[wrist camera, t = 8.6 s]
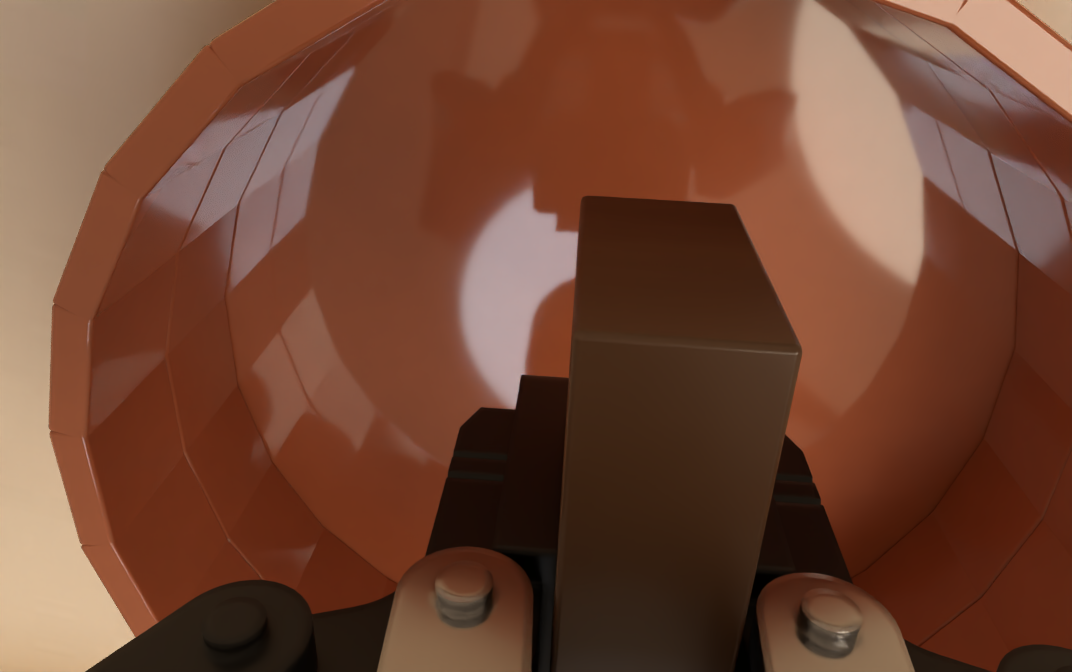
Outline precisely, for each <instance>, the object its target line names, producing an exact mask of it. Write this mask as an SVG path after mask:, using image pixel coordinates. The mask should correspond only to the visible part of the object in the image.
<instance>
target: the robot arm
mask: <svg viewBox="0 0 1072 672" xmlns="http://www.w3.org/2000/svg"><path fill="white" fill-rule="evenodd" d="M568 381H569V378H567V377H552V376H537V375H521V379H520V385H519V391H518V397H517V403H516V409H515V410H514V409H500V408H485V407H481V408H479V409H478V410H477V411H476V412H475V413H474V414H473V415H472V416H471V417H470V418H469V419H468V420H467V421H466V422H465V423H464V424H463V425H462V426H461V427H460V429H459V433H458V436H457V440H456V444H455V448H454V451H453V457H452V459H451V462H450V466H449V470H448V477H446V481H445V484H444V488H443V492H442V496H441V499H440V503H439V507H438V510H437V514H436V518H435V521H434V525H433V529H432V532H431V536H430V540H429V544H428V547H427V551H426V555H425V557H423V558H422V559H420V560H418V561H417V562H416V563H414V564H413V565H412V566H411V567H410V568H409V569H408V570H407V571H406V572H405V573H404V574H403V576H402V578H401V579H400V581H399V582H398V585H397V588H396V591H394V592H393V593H391V594H389V595H387V596H385V597H383V598H381V599H379V600H376V601H373V602H370V603H367V604H363V605H359V606H355V607H349V608H344V609H338V610H333V611H327V612H321V613H316V614H312V612H311V609H310V607H309V605H308V603H307V601H306V600H305V599H304V598H303V596H302V595H301V594H299V593H298V592H297V591H296V590H294V589H292V588H290V587H288V586H287V585H284V584H281V583H278V582H273V581H267V580H245V581H237V582H233V583H228V584H225V585H222V586H219V587H216V588H213V589H211V590H209V591H206V592H204V593H202V594H200V595H199V596H197V597H195V598H194V599H192V600H191V601H189V602H188V603H186V604H185V605H183V606H182V607H180V608H179V609H177V610H176V611H174V612H173V613H171V614H170V615H168V616H167V617H165V618H164V619H162V620H161V621H159V622H158V623H157V624H155V625H154V626H152V627H151V628H149V629H148V630H146V631H145V632H143V633H142V634H140V635H139V636H137V637H136V638H134V639H133V640H131V641H130V642H128V643H127V644H125V645H124V646H123V647H121V648H120V649H118V650H117V651H115V652H114V653H112V654H111V655H109V656H108V657H106V658H105V659H103V660H102V661H100V662H99V663H97V664H96V665H94V666H93V667H91V668H90V669H89V670H87V671H86V672H550V656H551V641H552V626H553V610H554V595H555V580H556V564H557V549H558V534H559V519H560V503H561V488H562V473H563V457H564V442H565V427H566V411H567V396H568ZM735 672H992V671H989V670H986V669H983V668H979V667H976V666H973V665H970V664H967V663H964V662H961V661H958V660H955V659H952V658H949V657H946V656H942V655H939V654H936V653H934V652H931V651H928V650H926V649H923V648H921V647H919V646H917V645H915V644H913V643H911V642H909V641H907V640H905V639H904V638H903V636H902V634H901V631H900V629H899V627H898V624H897V622H896V621H895V619H894V618H893V616H892V615H891V613H890V612H889V611H888V610H887V609H886V608H885V607H884V606H883V605H882V604H881V603H880V602H879V601H878V600H877V599H875V598H874V597H873V596H872V595H870V594H869V593H867V592H866V591H864V590H863V589H861V588H859V587H857V586H855V585H853V582H852V579H851V577H850V574H849V571H848V569H847V566H846V564H845V561H844V558H843V556H842V553H841V550H840V548H839V545H838V543H837V540H836V537H835V535H834V532H833V529H832V527H831V524H830V521H829V519H828V516H827V514H826V511H825V508H824V506H823V505H821V498H820V495H819V493H818V490H817V487H816V485H815V483H813V477H812V474H811V471H810V469H809V466H808V464H807V461H806V458H805V456H804V453H803V451H802V450H801V449H800V448H799V447H798V446H797V445H796V444H795V443H794V442H793V441H792V440H791V439H790V438H789V437H788V436H786V435H785V437H784V442H783V447H782V451H781V456H780V461H779V465H778V470H777V475H776V479H775V484H774V489H773V493H772V498H771V503H770V508H769V512H768V517H767V522H766V526H765V531H764V536H763V540H762V545H761V550H760V554H759V559H758V564H757V568H756V573H755V578H754V583H753V587H752V592H751V597H750V601H749V606H748V611H747V615H746V620H745V625H744V629H743V634H742V639H741V643H740V648H739V653H738V658H737V662H736V667H735ZM996 672H1072V650H1071V649H1067V648H1063V647H1059V646H1052V645H1044V644H1032V645H1026V646H1021V647H1018V648H1015V649H1013V650H1011V651H1010V652H1008V653H1007V654H1006V655H1005V656H1004V657H1003V658H1002V660H1001V661H1000V663H999V665H998V668H997V670H996Z"/></svg>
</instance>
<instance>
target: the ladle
mask: <svg viewBox="0 0 1072 672" xmlns="http://www.w3.org/2000/svg"><path fill="white" fill-rule="evenodd" d="M802 353H803V352H802V348H801V345H800V343H799V340H798V338H797V336H796V334H795V332H794V330H793V328H792V326H791V323H790V321H789V319H788V317H787V315H786V313H785V311H784V308H783V306H782V304H781V302H780V300H779V298H778V296H777V293H776V291H775V289H774V287H773V285H772V283H771V281H770V278H769V276H768V274H767V272H766V270H765V268H764V266H763V264H762V261H761V259H760V257H759V255H758V253H757V251H756V249H755V246H754V244H753V242H752V240H751V238H750V236H749V234H748V231H747V229H746V227H745V225H744V223H743V221H742V219H741V216H740V214H739V212H738V210H737V208H736V206H735V205H733V204H725V203H708V202H691V201H673V200H656V199H639V198H622V197H605V196H584V197H582V199H581V203H580V217H579V232H578V247H577V261H576V276H575V291H574V306H573V320H572V335H571V350H570V366H569V381H568V396H567V411H566V427H565V442H564V457H563V473H562V488H561V503H560V519H559V534H558V549H557V564H556V580H555V595H554V610H553V626H552V641H551V656H550V672H735V667H736V662H737V658H738V653H739V648H740V643H741V639H742V634H743V629H744V625H745V620H746V615H747V611H748V606H749V601H750V597H751V592H752V587H753V583H754V578H755V573H756V568H757V564H758V559H759V554H760V550H761V545H762V540H763V536H764V531H765V526H766V522H767V517H768V512H769V508H770V503H771V498H772V493H773V489H774V484H775V479H776V475H777V470H778V465H779V461H780V456H781V451H782V447H783V442H784V437H785V432H786V428H787V423H788V418H789V414H790V409H791V404H792V400H793V395H794V390H795V386H796V381H797V376H798V372H799V367H800V362H801V357H802Z"/></svg>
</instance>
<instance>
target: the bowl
mask: <svg viewBox="0 0 1072 672" xmlns="http://www.w3.org/2000/svg"><path fill="white" fill-rule="evenodd" d="M584 196H605V197H622V198H639V199H656V200H673V201H691V202H708V203H725V204H733V205H735V206H736V208H737V210H738V212H739V214H740V216H741V219H742V221H743V223H744V225H745V227H746V229H747V231H748V234H749V236H750V238H751V240H752V242H753V244H754V246H755V249H756V251H757V253H758V255H759V257H760V259H761V261H762V264H763V266H764V268H765V270H766V272H767V274H768V276H769V278H770V281H771V283H772V285H773V287H774V289H775V291H776V293H777V296H778V298H779V300H780V302H781V304H782V306H783V308H784V311H785V313H786V315H787V317H788V319H789V321H790V323H791V326H792V328H793V330H794V332H795V334H796V336H797V338H798V340H799V343H800V345H801V348H802V352H803V353H802V357H801V362H800V367H799V372H798V376H797V381H796V386H795V390H794V395H793V400H792V404H791V409H790V414H789V418H788V423H787V428H786V432H785V435H786V436H788V437H789V438H790V439H791V440H792V441H793V442H794V443H795V444H796V445H797V446H798V447H799V448H800V449H801V450H802V451H803V453H804V456H805V458H806V461H807V464H808V466H809V469H810V471H811V474H812V477H813V483H815V485H816V487H817V490H818V493H819V495H820V498H821V505H823V506H824V508H825V511H826V514H827V516H828V519H829V521H830V524H831V527H832V529H833V532H834V535H835V537H836V540H837V543H838V545H839V548H840V550H841V553H842V556H843V558H844V561H845V564H846V566H847V569H848V571H849V574H850V577H851V579H852V582H853V585H855V586H857V587H859V588H861V589H863V590H864V591H866V592H867V593H869V594H870V595H872V596H873V597H874V598H875V599H877V600H878V601H879V602H880V603H881V604H882V605H883V606H884V607H885V608H886V609H887V610H888V611H889V612H890V613H891V615H892V616H893V618H894V619H895V621H896V622H897V624H898V627H899V629H900V631H901V634H902V636H903V638H904V639H905V640H907V641H909V642H911V643H913V644H915V645H917V646H919V647H921V648H923V649H926V650H928V651H931V652H934V653H936V654H939V655H942V656H946V657H949V658H952V659H955V660H958V661H961V662H964V663H967V664H970V665H973V666H976V667H979V668H983V669H986V670H989V671H992V672H996V670H997V668H998V665H999V663H1000V661H1001V660H1002V658H1003V657H1004V656H1005V655H1006V654H1007V653H1008V652H1010V651H1011V650H1013V649H1015V648H1018V647H1021V646H1026V645H1032V644H1044V645H1052V646H1059V647H1063V648H1067V649H1071V650H1072V44H1071V43H1069V42H1068V41H1067V40H1065V39H1064V38H1063V37H1062V36H1060V35H1059V34H1058V33H1057V32H1055V31H1054V30H1053V29H1052V28H1050V27H1049V26H1048V25H1047V24H1045V23H1044V22H1043V21H1042V20H1040V19H1039V18H1038V17H1036V16H1035V15H1034V14H1033V13H1031V12H1030V11H1029V10H1028V9H1026V8H1025V7H1024V6H1023V5H1021V4H1020V3H1019V2H1018V1H1016V0H275V1H274V2H272V3H270V4H269V5H267V6H265V7H264V8H262V9H261V10H259V11H257V12H256V13H254V14H253V15H251V16H249V17H248V18H246V19H245V20H243V21H241V22H240V23H238V24H237V25H235V26H233V27H232V28H230V29H228V30H227V31H225V32H224V33H222V34H220V35H219V36H217V37H216V38H214V39H212V41H211V43H210V44H208V45H206V46H204V47H203V48H202V49H201V51H200V52H199V53H198V54H197V55H196V57H195V58H194V59H193V60H192V61H191V63H190V64H189V65H188V66H187V67H186V69H185V70H184V71H183V72H182V73H181V75H180V76H179V77H178V78H177V79H176V81H175V82H174V83H173V84H172V85H171V87H170V88H169V89H168V90H167V91H166V93H165V94H164V95H163V96H162V97H161V99H160V100H159V101H158V102H157V103H156V105H155V106H154V107H153V108H152V109H151V111H150V112H149V113H148V114H147V115H146V117H145V118H144V119H143V120H142V121H141V123H140V124H139V125H138V126H137V127H136V129H135V130H134V131H133V132H132V133H131V135H130V136H129V137H128V138H127V139H126V141H125V142H124V143H123V144H122V145H121V147H120V148H119V149H118V150H117V151H116V153H115V154H114V155H113V156H112V157H111V159H110V160H109V161H108V162H107V163H106V165H105V167H104V170H103V171H102V172H101V174H100V176H99V179H98V182H97V184H96V187H95V190H94V192H93V195H92V198H91V200H90V203H89V206H88V208H87V211H86V214H85V216H84V219H83V221H82V224H81V227H80V229H79V232H78V235H77V237H76V240H75V243H74V245H73V248H72V251H71V253H70V256H69V259H68V261H67V264H66V267H65V269H64V272H63V275H62V277H61V280H60V283H59V285H58V288H57V291H56V293H55V296H54V299H53V303H54V305H53V307H52V330H51V364H50V397H49V429H50V430H51V431H50V438H51V442H52V446H53V449H54V453H55V456H56V460H57V463H58V467H59V470H60V474H61V477H62V481H63V484H64V488H65V491H66V495H67V499H68V502H69V506H70V509H71V513H72V516H73V520H74V523H75V527H76V530H77V534H78V537H79V541H80V543H81V544H82V546H81V548H82V550H83V551H84V553H85V555H86V556H87V558H88V560H89V561H90V563H91V565H92V566H93V568H94V570H95V571H96V573H97V575H98V576H99V578H100V580H101V581H102V583H103V584H104V586H105V588H106V589H107V591H108V593H109V594H110V596H111V598H112V599H113V601H114V603H115V604H116V606H117V608H118V609H119V611H120V613H121V614H122V616H123V617H124V619H125V621H126V622H127V624H128V626H129V627H130V629H131V631H132V632H133V634H134V636H135V637H137V636H139V635H140V634H142V633H143V632H145V631H146V630H148V629H149V628H151V627H152V626H154V625H155V624H157V623H158V622H159V621H161V620H162V619H164V618H165V617H167V616H168V615H170V614H171V613H173V612H174V611H176V610H177V609H179V608H180V607H182V606H183V605H185V604H186V603H188V602H189V601H191V600H192V599H194V598H195V597H197V596H199V595H200V594H202V593H204V592H206V591H209V590H211V589H213V588H216V587H219V586H222V585H225V584H228V583H233V582H237V581H245V580H267V581H273V582H278V583H281V584H284V585H287V586H288V587H290V588H292V589H294V590H296V591H297V592H298V593H299V594H301V595H302V596H303V598H304V599H305V600H306V601H307V603H308V605H309V607H310V609H311V612H312V614H316V613H321V612H327V611H333V610H338V609H344V608H349V607H355V606H359V605H363V604H367V603H370V602H373V601H376V600H379V599H381V598H383V597H385V596H387V595H389V594H391V593H393V592H394V591H396V588H397V585H398V582H399V581H400V579H401V578H402V576H403V574H404V573H405V572H406V571H407V570H408V569H409V568H410V567H411V566H412V565H413V564H414V563H416V562H417V561H418V560H420V559H422V558H423V557H425V555H426V551H427V547H428V544H429V540H430V536H431V532H432V529H433V525H434V521H435V518H436V514H437V510H438V507H439V503H440V499H441V496H442V492H443V488H444V484H445V481H446V477H448V470H449V466H450V462H451V459H452V457H453V451H454V448H455V444H456V440H457V436H458V433H459V429H460V427H461V426H462V425H463V424H464V423H465V422H466V421H467V420H468V419H469V418H470V417H471V416H472V415H473V414H474V413H475V412H476V411H477V410H478V409H479V408H481V407H485V408H500V409H514V410H515V409H516V403H517V397H518V391H519V385H520V379H521V375H537V376H552V377H567V378H569V366H570V350H571V335H572V320H573V306H574V291H575V276H576V261H577V247H578V232H579V217H580V203H581V199H582V197H584Z"/></svg>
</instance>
